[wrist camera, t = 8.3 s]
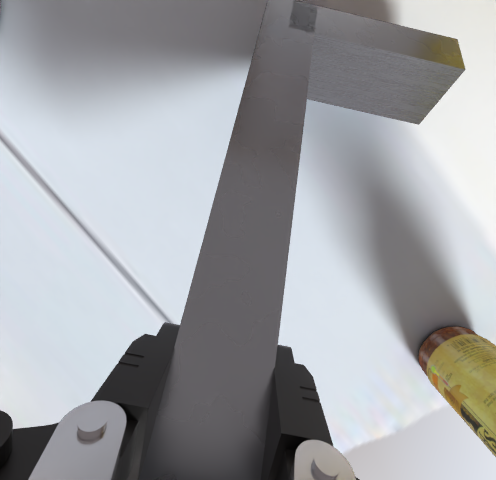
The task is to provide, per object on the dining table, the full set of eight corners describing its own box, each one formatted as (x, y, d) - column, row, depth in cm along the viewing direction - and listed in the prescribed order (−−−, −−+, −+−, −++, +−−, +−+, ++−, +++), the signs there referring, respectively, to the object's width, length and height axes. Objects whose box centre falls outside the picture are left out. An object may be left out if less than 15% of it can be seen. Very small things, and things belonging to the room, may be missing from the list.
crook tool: (99, 695, 8) (6, 969, 4) (259, 59, 21) (269, -7, 17) (502, 756, 8) (727, 1051, 5) (415, 96, 21) (457, 39, 17)
